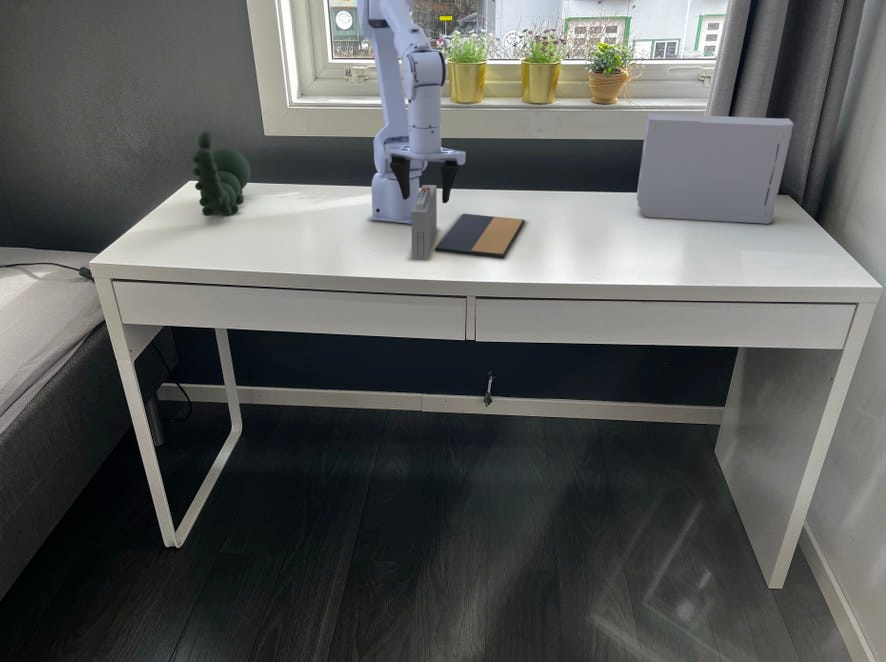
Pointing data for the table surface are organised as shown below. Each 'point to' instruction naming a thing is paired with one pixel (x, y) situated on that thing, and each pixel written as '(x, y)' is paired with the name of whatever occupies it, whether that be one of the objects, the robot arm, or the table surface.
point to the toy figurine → (220, 177)
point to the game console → (712, 167)
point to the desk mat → (481, 236)
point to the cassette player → (424, 221)
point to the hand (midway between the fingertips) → (425, 199)
